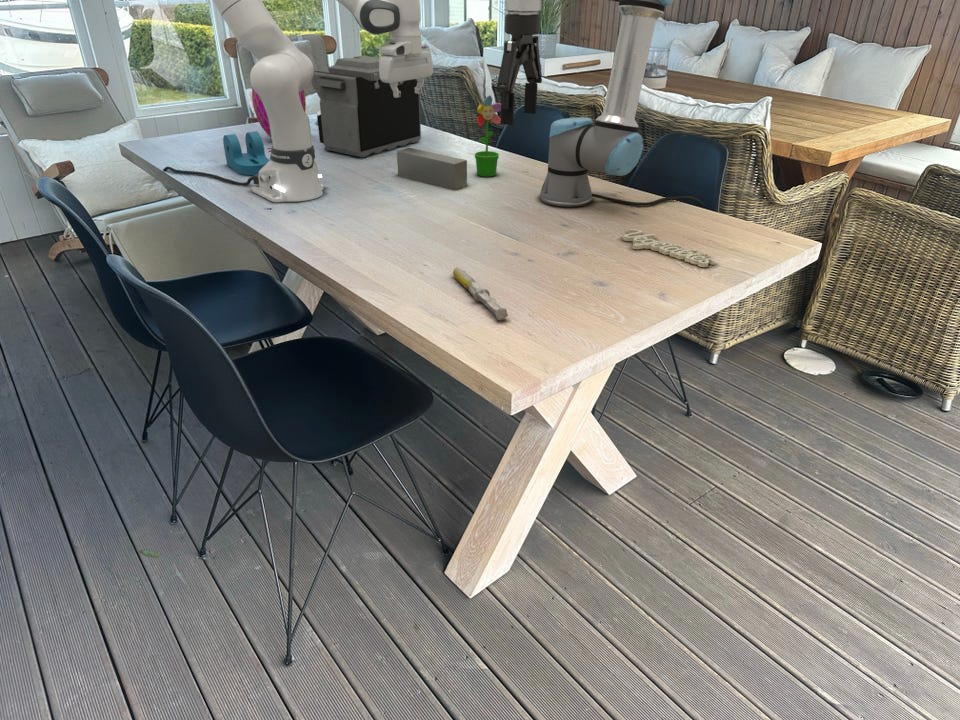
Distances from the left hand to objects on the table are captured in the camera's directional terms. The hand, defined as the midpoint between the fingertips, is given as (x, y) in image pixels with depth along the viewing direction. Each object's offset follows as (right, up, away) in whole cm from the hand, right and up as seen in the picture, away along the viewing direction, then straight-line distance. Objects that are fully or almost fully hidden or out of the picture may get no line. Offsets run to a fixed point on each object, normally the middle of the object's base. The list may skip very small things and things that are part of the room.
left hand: (407, 95), depth 212 cm
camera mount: (-54, -18, +18) cm, 60 cm away
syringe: (+22, -68, -67) cm, 98 cm away
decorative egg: (-53, +3, +53) cm, 75 cm away
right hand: (+31, -27, -57) cm, 71 cm away
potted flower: (+25, -21, +15) cm, 35 cm away
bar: (+7, -24, +8) cm, 26 cm away
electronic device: (-19, -1, +47) cm, 50 cm away
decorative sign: (+67, -55, -43) cm, 97 cm away
